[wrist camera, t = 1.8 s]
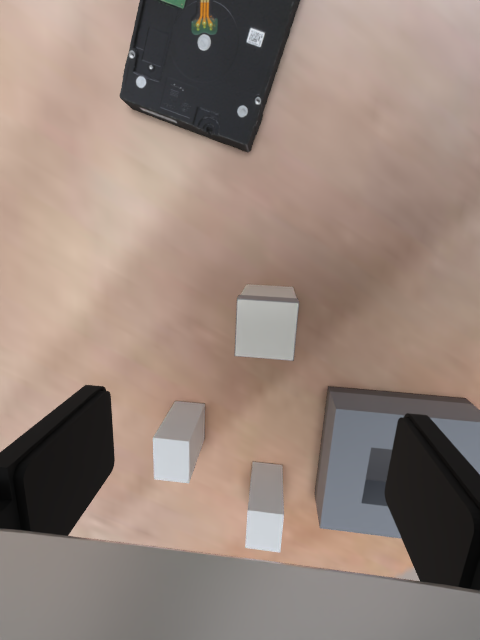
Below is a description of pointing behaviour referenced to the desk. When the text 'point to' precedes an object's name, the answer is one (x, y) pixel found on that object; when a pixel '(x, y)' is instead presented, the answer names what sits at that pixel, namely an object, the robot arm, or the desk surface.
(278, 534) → the pale grey post pair
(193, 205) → the desk surface
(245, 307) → the block
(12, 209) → the desk surface
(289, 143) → the desk surface
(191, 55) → the disk drive
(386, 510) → the holder
